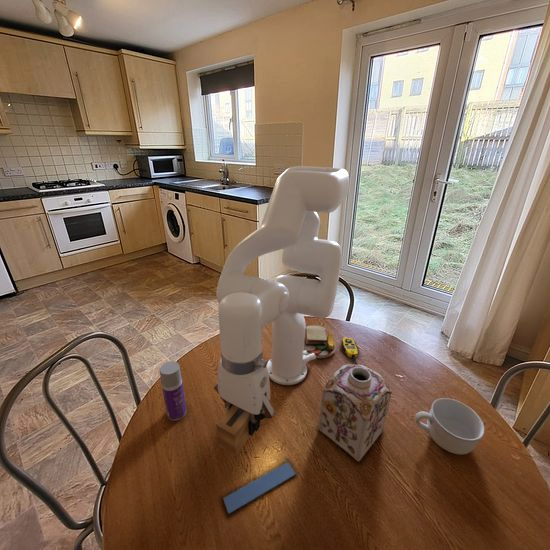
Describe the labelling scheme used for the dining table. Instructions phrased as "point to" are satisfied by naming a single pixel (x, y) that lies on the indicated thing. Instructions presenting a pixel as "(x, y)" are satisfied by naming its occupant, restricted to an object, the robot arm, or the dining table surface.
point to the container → (173, 390)
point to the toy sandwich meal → (318, 342)
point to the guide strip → (258, 487)
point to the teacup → (452, 425)
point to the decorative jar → (354, 408)
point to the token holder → (233, 429)
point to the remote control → (350, 348)
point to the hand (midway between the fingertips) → (244, 424)
